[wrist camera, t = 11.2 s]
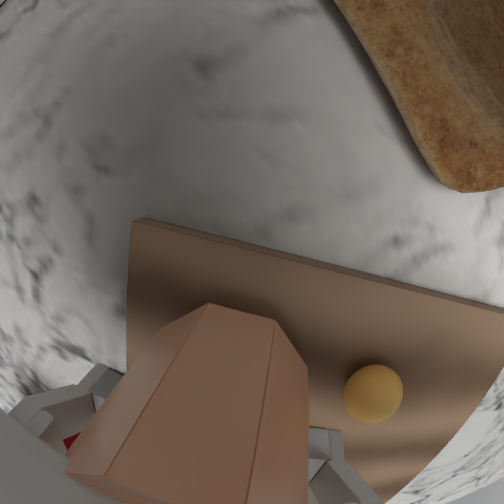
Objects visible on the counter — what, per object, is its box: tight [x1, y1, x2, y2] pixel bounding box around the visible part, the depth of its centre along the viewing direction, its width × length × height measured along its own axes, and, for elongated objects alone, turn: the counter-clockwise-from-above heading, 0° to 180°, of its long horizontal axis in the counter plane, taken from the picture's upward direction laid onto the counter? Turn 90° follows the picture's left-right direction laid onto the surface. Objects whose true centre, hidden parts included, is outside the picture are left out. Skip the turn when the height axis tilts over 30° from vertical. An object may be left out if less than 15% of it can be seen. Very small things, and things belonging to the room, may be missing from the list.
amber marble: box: [343, 364, 403, 424], centre depth 12 cm, size 3×3×3 cm
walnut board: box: [127, 218, 504, 504], centre depth 16 cm, size 22×23×1 cm
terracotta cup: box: [64, 303, 309, 504], centre depth 8 cm, size 6×6×8 cm
